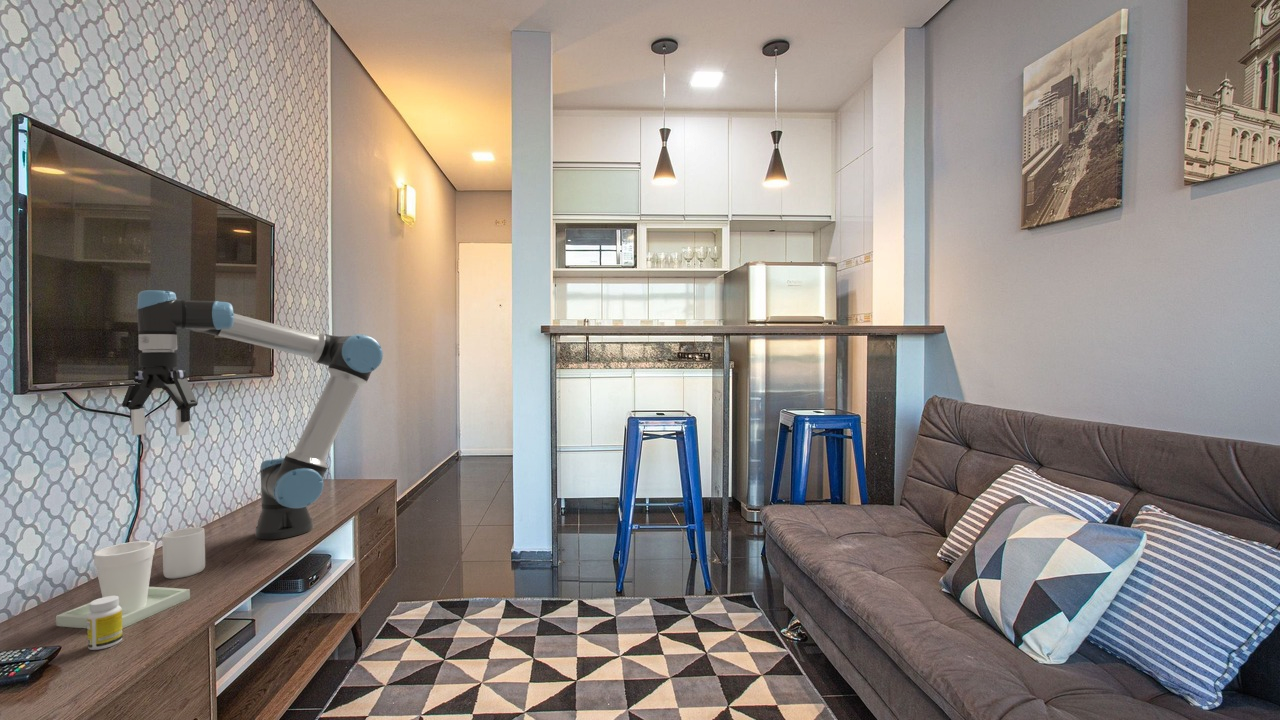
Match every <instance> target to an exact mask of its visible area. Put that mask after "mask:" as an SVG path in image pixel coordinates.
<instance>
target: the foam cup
mask: <svg viewBox="0 0 1280 720" xmlns="http://www.w3.org/2000/svg"><path fill="white" fill-rule="evenodd" d="M154 555H155V542H153V541H151V540H138V541H129V542H124V543H123V542H122V543H118V544H114V545H110V546H106V547H103V548H101V549H98V550H97V551H96V552H94V553H93V565H94V566H95V568H96V572H97V578H98V583H99V587H100V592H101V593H100V594H101V596H102V597H101V598H103V597H107V596H118V597H119V604H118V606H120V607H121V608H122V614H126V613H131V612H133V611H135V610H138V609H140V608H142V607H144V606H145V605H146V601H147V596H148V589H149V587H150V580H151V574H152V566H153V558H154Z"/></svg>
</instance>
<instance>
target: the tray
mask: <svg viewBox="0 0 1280 720" xmlns="http://www.w3.org/2000/svg"><path fill="white" fill-rule="evenodd" d="M190 599H191V589H189V588H175V587H162V586H161V587H160V586H159V587H158V586H149V589H148V596H147V601H146V605H145V606H144V607H142V608H140V609H138V610H135V611H133V612H131V613H126V614H122V630H123V629H124V628H127V627H129V626H131V625H134V624H136V623H139V622H140V621H142V620H145V619H147V618H150V617H151V616H154V615H156V614H159V613H161V612H163V611H166V610H167V609H170V608H172V607H174V606H176V605H179V604H182V603H183V602H185V601H188V600H190ZM90 603H91V602H88V603H86V604H83V605H81V606H78V607H75V608H72V609H70V610H67V611H64V612H62V613H60V614H57V615H56V616H55V624H56V625H55V626H56V627H64V628H76V629H78V628H79V629H87V616H88V614H89V613H90V612H91V611H90V610H89V609H90Z"/></svg>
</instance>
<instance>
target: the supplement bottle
mask: <svg viewBox="0 0 1280 720" xmlns="http://www.w3.org/2000/svg"><path fill="white" fill-rule="evenodd" d="M89 603H90V609H89V610H90V611H91V612H90V613H89V614H88V616H87V648H88V650H91V651H97V650H104V649H107V648H111V647H113V646H116V645H117V644H119V643H120V642H121V641H122V640H123V635H124V634H123V629H122V608H121V607H120V606H118V604H119V597H118V596H107V597H99V598H97V599H93V600H92V601H91V602H89Z"/></svg>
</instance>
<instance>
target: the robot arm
mask: <svg viewBox="0 0 1280 720" xmlns="http://www.w3.org/2000/svg"><path fill="white" fill-rule="evenodd" d="M136 310H137V311H136V312H137V313H136V314H137V315H136V316H137V331H138V332H137V334H138V350H139V351H141V352H139V354H138V366H139V367H140V368H143V370H133V371H134V372H133V374H134V381H135V382H138V383H141V384H140V385H135V386H129V385H128V388H127V390H126V393H125V395H124V398H123V400H122V404H121V406H122V407H123V408H127V409H128V410H129V416H130V417H129V418H130V419H129V420H130V423H131V436H141V435H145V434H146V416H145V413H146V411H145V407H144V405H145V403H146V401H147V400H148V399H149V397H150V395H151V394H152V393H153V392H154V390H156V389H162V390H163V391H166V393H167V395H168V396H169V397H170V399H171V400H172V401H173V402H174V404H175V405H176V406H177V407H176V409H175V436H176V437H177V436H178V437H179V436H185V435H186V436H187V435H190V421H191V409H192V408H193V407H197V406H198V400H197V398H196V396H195V393H194V391H193V390H192V387H191V385H190V383H189V381H188V377H187V371H186V370H185V369H175V367H177V366H178V364H179V362H178V361H179V360H178V359H179V358H178V353H177V352H176V351H177V350H178V348H179V347H178V332H177V331H178V329H180V330H181V329H182V330H183V329H184V330H185V329H187V330H189V331H192V332H195V333H204V334H209V335H213V336H217V337H221V338H225V339H230V340H234V341H238V342H242V343H247V344H250V345H254V346H260V347H263V348H268V349H272V350H277V351H279V352H284V353H289V354H293V355H297V356H301V357H305V358H308V359H309V358H310V360H312V362H313V363H316V364H320V365H324V366H326V367H327V371H328V374H329V378H328V381H327V382H326V384H325V387H324V389H323V391H322V393H321V394H320V397H319V399H318V401H317V403H316V405H315V406H314V409H313V411H312V413H311V415H310V418H309V419H308V422H307V423H306V426H305V428H304V430H303V432H302V434H301V436H300V438H299V441H298V443H297V444H296V446H295V448H294V450H293V451H291V452H289V453H287V454H285V457H282V458H274V459H266V460H263V461H262V462H261V463H260V470H259V472H260V494H261V495H260V496H261V498H260V499H261V510H260V513H259V517H258V520H257V524H256V527H255V531H254V537H255V538H257V540H259V539H260V540H278V539H286V538H292V537H295V536H300V535H304V534H305V533H308V532H310V531H312V529H314V520H313V518H312V517H311V514H310V512H309V509H308V506H310V505H312V504H314V503H315V502H316V501H317V500H318V499H319V498H320V496H321V494H322V493H323V490H324V477H325V474H326V472H327V470H328V464H327V461H326V459H327V456H328V455H329V452H330V451H331V448H332V446H333V443H334V442H335V439H336V437H337V435H338V433H339V431H340V429H341V427H342V424H343V422H344V420H345V418H346V416H347V414H348V411H349V409H350V407H351V406H352V403H353V401H354V399H355V396H356V394H357V393H358V390H359V389H360V388H359V387H361V386H363V385H365V384H367V383H368V380H369V379H370V376H371V374H372V372H374V371H375V370H376V369H377V368H378V367H379V366H381V364H382V361H383V356H384V355H383V354H384V353H383V349H382V347H381V345H380V343H379V342H378V341H377V340H376V339H375V338H374V337H371V336H369V335H366V334H365V335H364V334H359V333H358V334H352V335H346V336H345V335H344V336H343V335H342V336H340V335H333V334H332V335H331V334H326V333H320V334H314V333H310V332H306V331H303V330H299V329H294V328H291V327H287V326H284V325H280V324H275V323H274V322H273V323H272V322H270V321H269V322H268V321H265V320H260V319H256V318H252V317H249V316H245V315H241V314H239V313H234V307H233V304H232V303H231V302H227V301H218V300H213V301H212V300H187V299H186V300H183V299H178V298H177V294H176V293H175V292H174V291H171V290H160V289H158V290H157V289H156V290H155V289H154V290H153V289H152V290H151V289H147V290H141V291H140V292H139V293H138V294H137V307H136Z"/></svg>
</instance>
